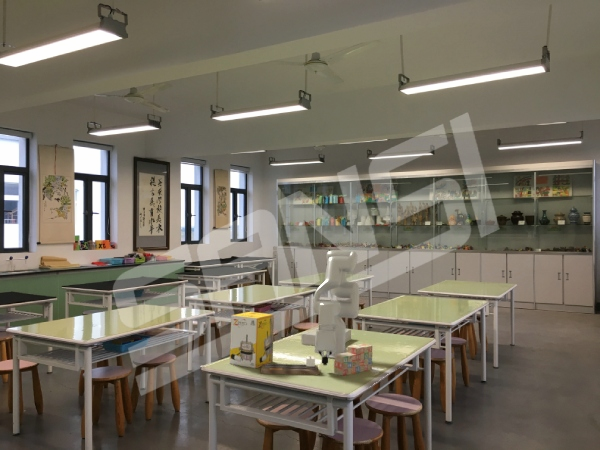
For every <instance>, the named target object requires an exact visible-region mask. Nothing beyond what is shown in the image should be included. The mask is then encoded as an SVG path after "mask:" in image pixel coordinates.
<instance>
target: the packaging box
mask: <svg viewBox="0 0 600 450" xmlns="http://www.w3.org/2000/svg"><path fill="white" fill-rule="evenodd" d="M274 324H275V314H271V313H264V312H255V311H245V312H241V313H237V314H231V315H230V345H229V350H230V351H229V364H232V365H236V366H241V367H248V368H252V369H257V368H260V367H262V364H271V363H272V362H273V359H274V358H273V357H274V332H275V331H274V330H275V329H274V328H275V325H274Z"/></svg>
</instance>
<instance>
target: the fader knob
mask: <svg viewBox="0 0 600 450" xmlns="http://www.w3.org/2000/svg"><path fill="white" fill-rule="evenodd" d="M315 363H316V359H315V356H305V365H306V366H309V367H311V366H315Z"/></svg>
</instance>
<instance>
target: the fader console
mask: <svg viewBox="0 0 600 450" xmlns="http://www.w3.org/2000/svg"><path fill="white" fill-rule="evenodd" d="M260 372H261V374H263V375H305V376H306V375H309V376H310V375H312V376H314V375H315V376H316V375H317V376H318V375H320V370H319V366H318V364H317V365H315V366H311V367H309V366H306V364H291V363H289V364H288V363H285V364H284V363H268V364H262V366H261V371H260ZM261 374H260V375H261Z"/></svg>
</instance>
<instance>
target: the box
mask: <svg viewBox="0 0 600 450" xmlns="http://www.w3.org/2000/svg"><path fill="white" fill-rule="evenodd" d="M317 330H318V326H317V327H316V328H313V329H310V330H308V331H305V332H302V333H301V336H300V338H301V345H305V346H314V347H315V337H316V331H317ZM351 339H352V329H348V328H347V329H346V332H345V344H346V343H347V342H349V341H351Z"/></svg>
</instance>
